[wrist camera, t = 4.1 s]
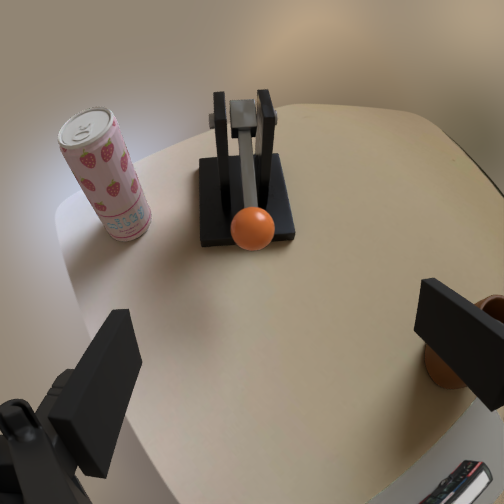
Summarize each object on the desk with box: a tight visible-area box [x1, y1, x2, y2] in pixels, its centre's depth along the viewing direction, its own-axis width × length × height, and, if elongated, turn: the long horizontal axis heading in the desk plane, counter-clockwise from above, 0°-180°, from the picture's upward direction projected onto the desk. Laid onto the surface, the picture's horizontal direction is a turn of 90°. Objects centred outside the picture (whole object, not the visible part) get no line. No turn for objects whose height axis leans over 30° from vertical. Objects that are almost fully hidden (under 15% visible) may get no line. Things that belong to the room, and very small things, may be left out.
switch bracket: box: [199, 89, 295, 247], centre depth 31 cm, size 12×10×14 cm
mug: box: [425, 295, 504, 389], centre depth 24 cm, size 12×8×9 cm, turn 89°
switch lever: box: [230, 99, 275, 251], centre depth 27 cm, size 13×4×4 cm, turn 6°
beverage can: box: [58, 107, 152, 241], centre depth 29 cm, size 6×6×15 cm
